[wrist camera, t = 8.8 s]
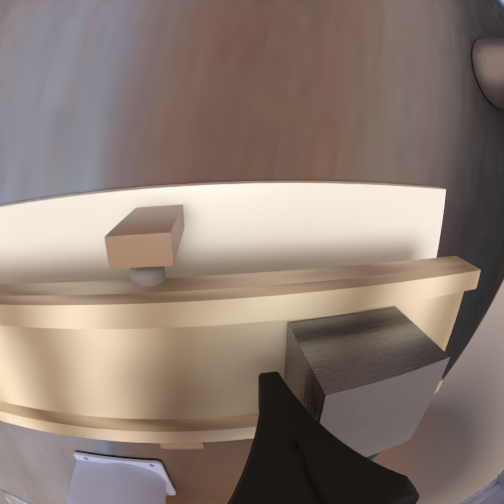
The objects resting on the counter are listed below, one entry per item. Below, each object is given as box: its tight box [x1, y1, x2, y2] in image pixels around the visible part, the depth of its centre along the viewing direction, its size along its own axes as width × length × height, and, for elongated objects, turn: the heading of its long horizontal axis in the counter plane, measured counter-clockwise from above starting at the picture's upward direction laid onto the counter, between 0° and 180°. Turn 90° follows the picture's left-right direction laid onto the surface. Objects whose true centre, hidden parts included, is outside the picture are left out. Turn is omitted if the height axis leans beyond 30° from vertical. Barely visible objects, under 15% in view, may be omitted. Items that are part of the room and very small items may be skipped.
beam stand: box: [0, 181, 446, 449], centre depth 15 cm, size 34×14×6 cm, turn 90°
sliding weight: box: [284, 306, 450, 457], centre depth 11 cm, size 5×5×4 cm
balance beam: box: [0, 256, 481, 443], centre depth 12 cm, size 30×9×3 cm, turn 90°
